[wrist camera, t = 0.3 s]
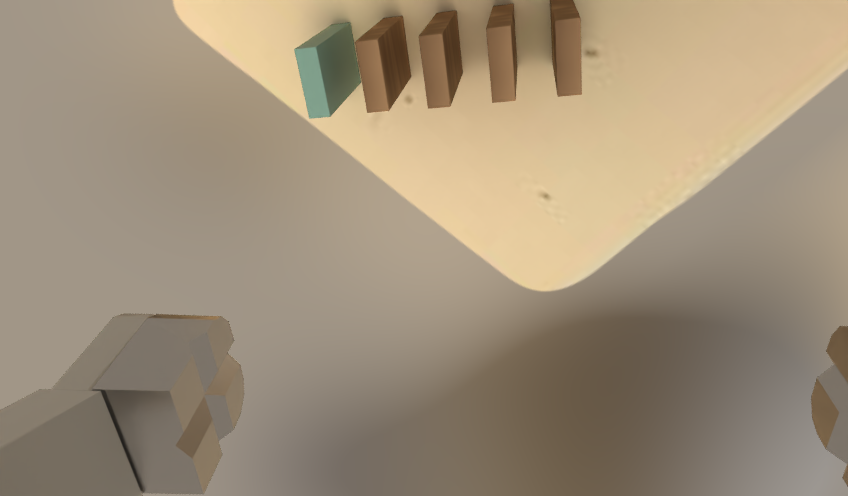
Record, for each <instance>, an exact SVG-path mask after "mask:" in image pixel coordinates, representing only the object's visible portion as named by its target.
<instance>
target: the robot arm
mask: <svg viewBox="0 0 848 496" xmlns="http://www.w3.org/2000/svg"><path fill="white" fill-rule="evenodd" d="M233 342H234V338H233V334H232V331H231V327H230V324H229V321H227V320H226V319H224V318H223V317H221V316H196V315H168V314H156V315H153V314H121V315H118V316H115V317H113V318H112V319H111V320H110V322H109V323H108V324H107V325H106V326H105V327H104V329H103V330H102V331H101V332H100V333H99V334H98V336H97V337H96V338H95V339H94V340H93V341H92V343H91V344H90V345H89V346H88V347H87V348H86V350H85V351H84V352H83V353H82V354H81V355H80V356H79V358H78V359H77V360H76V361H75V362H74V363H73V364H72V366H71V367H70V368H69V369H68V371H66V373H65V374H64V375H63V376H62V377H61V378H60V380H59V381H58V382H57V383H56V384H55V385H54V386H53V388H52V389H48V390H47V389H39V390H38V391H36V392H34V393H32V394H30V395H28V396H26V397H24V398H22V399H20V400H18V401H17V402H15V403H13V404H11V405H9V406H7V407H5V408H3V409H1V410H0V496H143V495H142V493H165V494H167V493H168V494H204V493H205V491H206V488H207V486H208V484H209V481H210V480H211V477H212V476H213V473H214V471H215V469H216V467H217V465H218V463H219V461H220V459H221V456H222V452H221V448H220V445H219V440H220V439H222V438H223V437H224V436H226V435H227V434H229V433H230V432H231V431H233V430H234V428H235V426H236V424H237V421H238V419H239V417H240V414H241V410H242V404H243V398H244V378H243V374H242V370H241V365H240V364H239V363H238V362H237V361H236V360H235V359H234V358H233V357H231V356H230V355H229V354H228V351H229V349H230V347H231V345H232V344H233ZM826 352H827V354H828V355H829V357H830V359H831V360H832V362H833V364H834V365H833V366H831V367H830V368H829V369H827V370H826V371H825V372H824V373H822V374H821V375H820V376H818V377H817V379H816V382H815V386H814V390H813V393H812V396H811V405H812V419H813V422H814V425H815V429H816V432H817V434H818V436H819V438H820V440H821V442H822V443H823V445H824V447H825V449H826V450H828V451H829V452H831V453H832V454H834V455H835V456H836V457H838V458H839V459H841V460H842V461H844V462H845V463H847V466H846V469H845V472H844V475H843V479H844V481H845V483H846V484H847V486H848V326H840V327H839V328H838V329H837V330H836V331H835V332H834V333H833V334H832V336H831V338H830V342H829V344H828V347H827V350H826Z"/></svg>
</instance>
